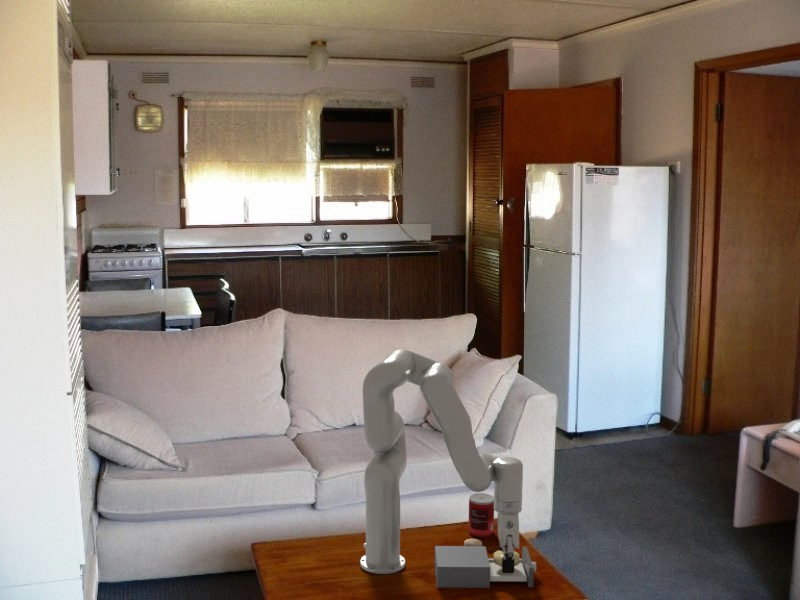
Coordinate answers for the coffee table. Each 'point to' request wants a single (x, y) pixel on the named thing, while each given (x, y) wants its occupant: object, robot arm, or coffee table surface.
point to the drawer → (515, 570)
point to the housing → (462, 566)
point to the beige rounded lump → (472, 542)
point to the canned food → (481, 514)
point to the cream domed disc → (499, 555)
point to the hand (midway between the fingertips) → (506, 565)
